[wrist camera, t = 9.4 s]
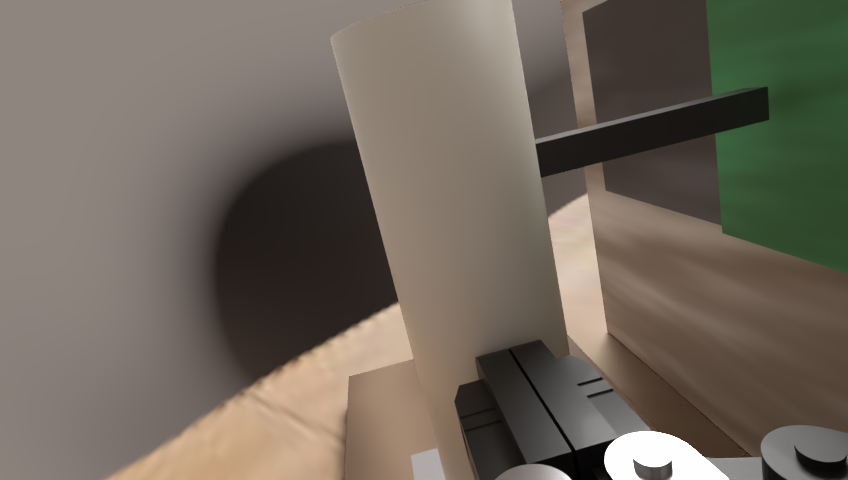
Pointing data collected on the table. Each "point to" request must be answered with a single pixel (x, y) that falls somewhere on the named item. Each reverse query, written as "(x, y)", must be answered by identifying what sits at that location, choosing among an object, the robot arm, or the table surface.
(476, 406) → the robot arm
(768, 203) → the base
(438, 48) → the white cylinder on base
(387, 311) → the table surface
